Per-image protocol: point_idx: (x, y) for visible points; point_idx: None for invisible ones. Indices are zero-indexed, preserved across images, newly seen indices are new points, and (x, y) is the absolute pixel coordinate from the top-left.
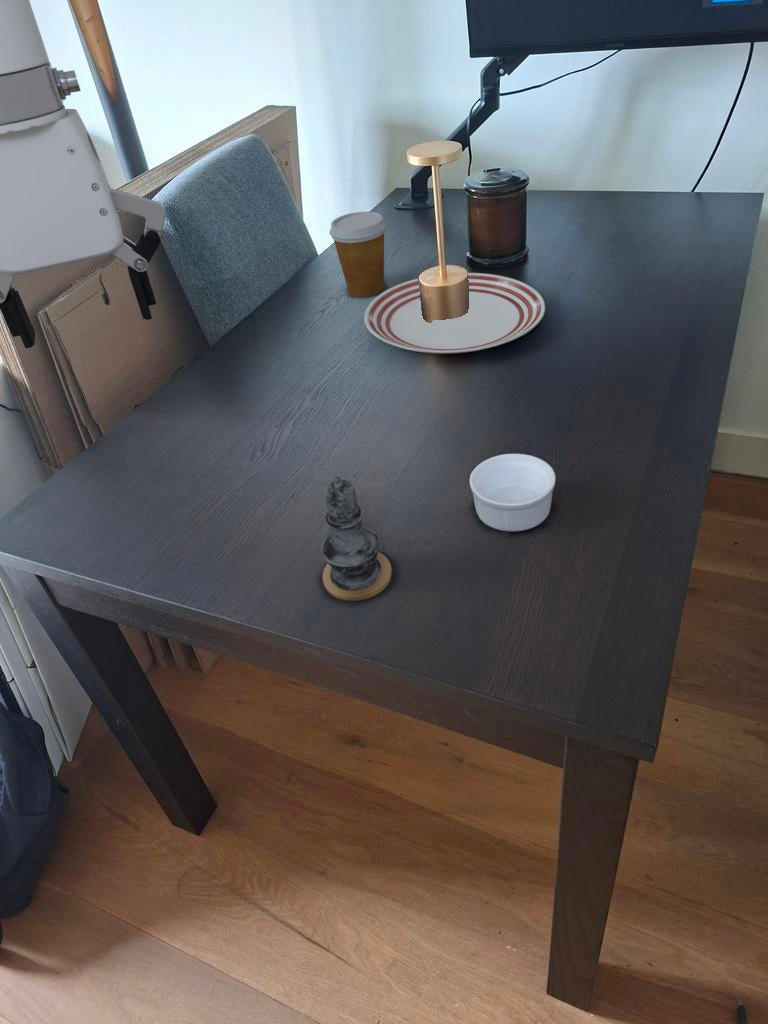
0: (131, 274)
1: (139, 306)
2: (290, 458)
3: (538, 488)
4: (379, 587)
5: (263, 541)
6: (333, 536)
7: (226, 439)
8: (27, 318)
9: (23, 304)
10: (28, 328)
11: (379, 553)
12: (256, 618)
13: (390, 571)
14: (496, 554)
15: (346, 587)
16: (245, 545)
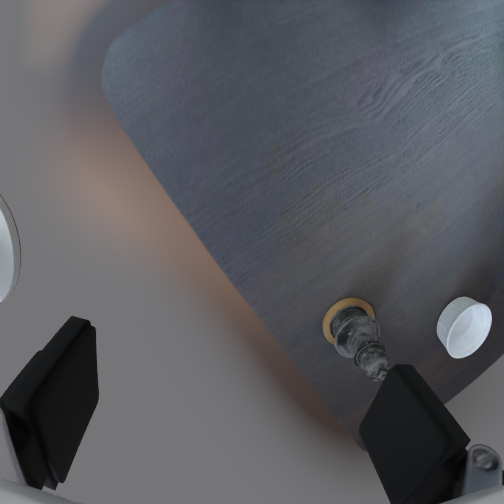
0: (406, 499)
1: (369, 452)
2: (390, 132)
3: (475, 320)
4: None
5: (312, 235)
6: (351, 346)
7: (351, 49)
8: (76, 379)
9: (59, 374)
10: (85, 410)
11: (373, 316)
12: (264, 318)
13: None
14: (420, 349)
15: (334, 336)
16: (296, 230)
